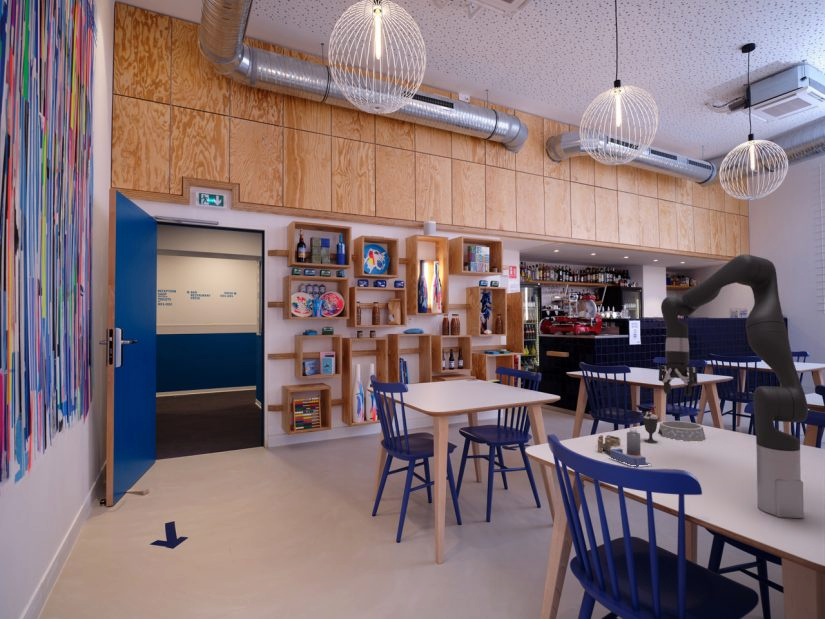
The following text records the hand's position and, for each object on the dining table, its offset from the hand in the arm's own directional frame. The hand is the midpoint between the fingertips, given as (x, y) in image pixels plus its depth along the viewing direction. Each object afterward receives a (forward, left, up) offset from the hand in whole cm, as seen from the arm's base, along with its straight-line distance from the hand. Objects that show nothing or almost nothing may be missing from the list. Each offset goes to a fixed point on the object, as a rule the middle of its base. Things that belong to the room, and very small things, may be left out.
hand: (677, 394), depth 166 cm
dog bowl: (+36, -17, -24) cm, 46 cm away
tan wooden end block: (+18, +18, -24) cm, 34 cm away
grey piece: (-4, +17, -23) cm, 29 cm away
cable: (+10, +21, -23) cm, 33 cm away
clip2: (+13, +22, -24) cm, 35 cm away
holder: (-4, +19, -24) cm, 30 cm away
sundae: (+24, 0, -24) cm, 34 cm away
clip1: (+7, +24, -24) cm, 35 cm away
